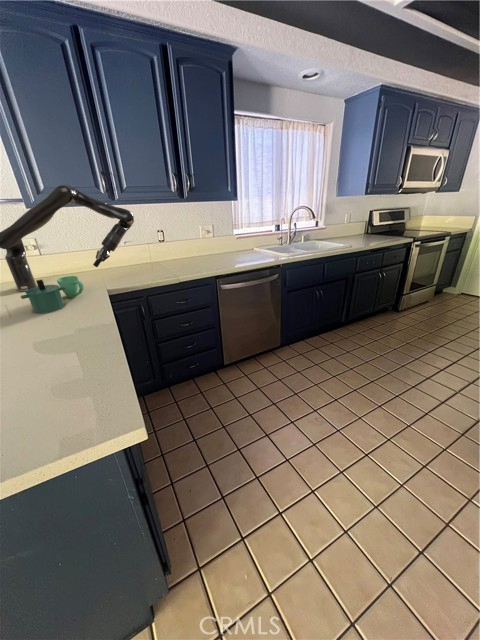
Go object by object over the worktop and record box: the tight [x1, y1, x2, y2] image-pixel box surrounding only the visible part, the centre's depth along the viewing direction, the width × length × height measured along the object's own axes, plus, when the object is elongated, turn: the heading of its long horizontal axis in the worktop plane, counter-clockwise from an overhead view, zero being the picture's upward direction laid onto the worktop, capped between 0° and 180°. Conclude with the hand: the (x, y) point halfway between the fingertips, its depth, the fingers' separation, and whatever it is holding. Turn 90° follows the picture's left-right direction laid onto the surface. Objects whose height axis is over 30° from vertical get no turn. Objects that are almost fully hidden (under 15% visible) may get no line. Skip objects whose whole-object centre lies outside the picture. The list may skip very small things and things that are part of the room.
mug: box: [56, 275, 85, 298], centre depth 145 cm, size 15×10×10 cm
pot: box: [20, 286, 65, 314], centre depth 130 cm, size 13×18×10 cm
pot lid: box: [24, 279, 60, 295], centre depth 127 cm, size 14×14×6 cm
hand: (95, 266), depth 149 cm, fingers closed
